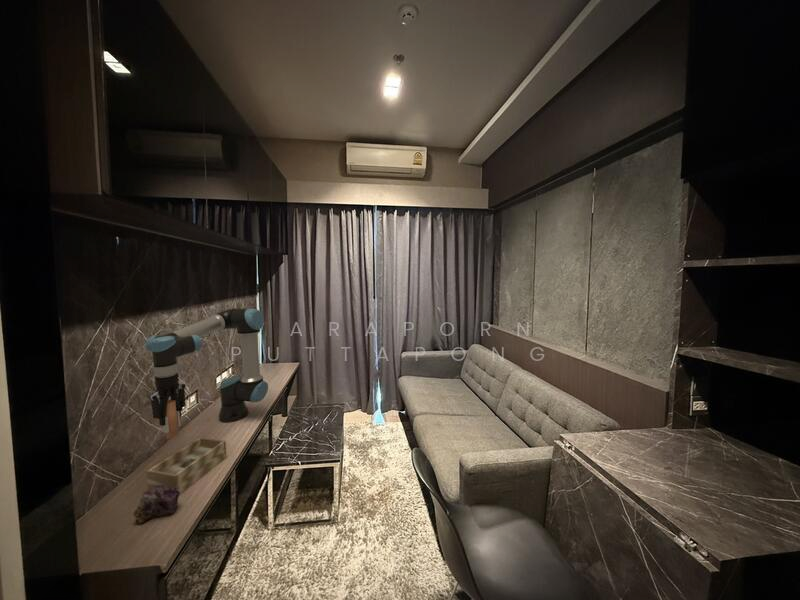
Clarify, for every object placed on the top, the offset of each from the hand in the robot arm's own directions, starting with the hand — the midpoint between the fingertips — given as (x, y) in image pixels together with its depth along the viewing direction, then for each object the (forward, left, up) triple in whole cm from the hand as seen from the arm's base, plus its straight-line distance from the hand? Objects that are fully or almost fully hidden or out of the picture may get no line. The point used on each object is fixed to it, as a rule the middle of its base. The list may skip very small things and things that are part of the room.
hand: (171, 428), depth 123 cm
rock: (+17, +13, -21) cm, 30 cm away
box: (-2, +5, -20) cm, 21 cm away
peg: (0, 0, -3) cm, 3 cm away
